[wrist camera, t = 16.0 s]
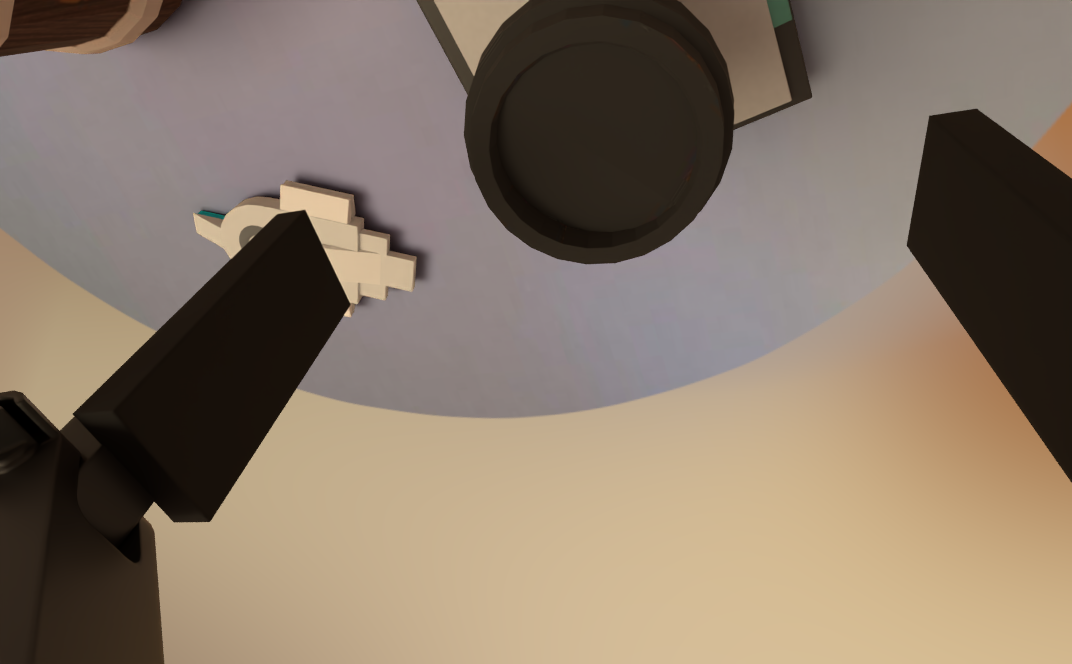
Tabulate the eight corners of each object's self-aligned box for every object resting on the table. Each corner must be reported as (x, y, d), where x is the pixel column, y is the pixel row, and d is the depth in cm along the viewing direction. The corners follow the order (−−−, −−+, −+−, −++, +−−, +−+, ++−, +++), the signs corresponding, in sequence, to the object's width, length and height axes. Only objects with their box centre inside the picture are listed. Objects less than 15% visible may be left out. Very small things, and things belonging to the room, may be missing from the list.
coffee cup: (629, 154, 32) (626, 319, 21) (494, 66, 30) (407, 193, 19) (737, 6, 27) (813, 111, 16) (584, -109, 26) (542, -87, 14)
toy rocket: (423, 205, 40) (412, 221, 38) (415, 318, 46) (406, 337, 44) (187, 151, 40) (165, 165, 38) (210, 272, 46) (193, 289, 44)
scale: (723, -233, 25) (734, -246, 22) (800, 80, 32) (815, 101, 29) (417, -38, 31) (395, -28, 28) (538, 192, 38) (530, 218, 35)
